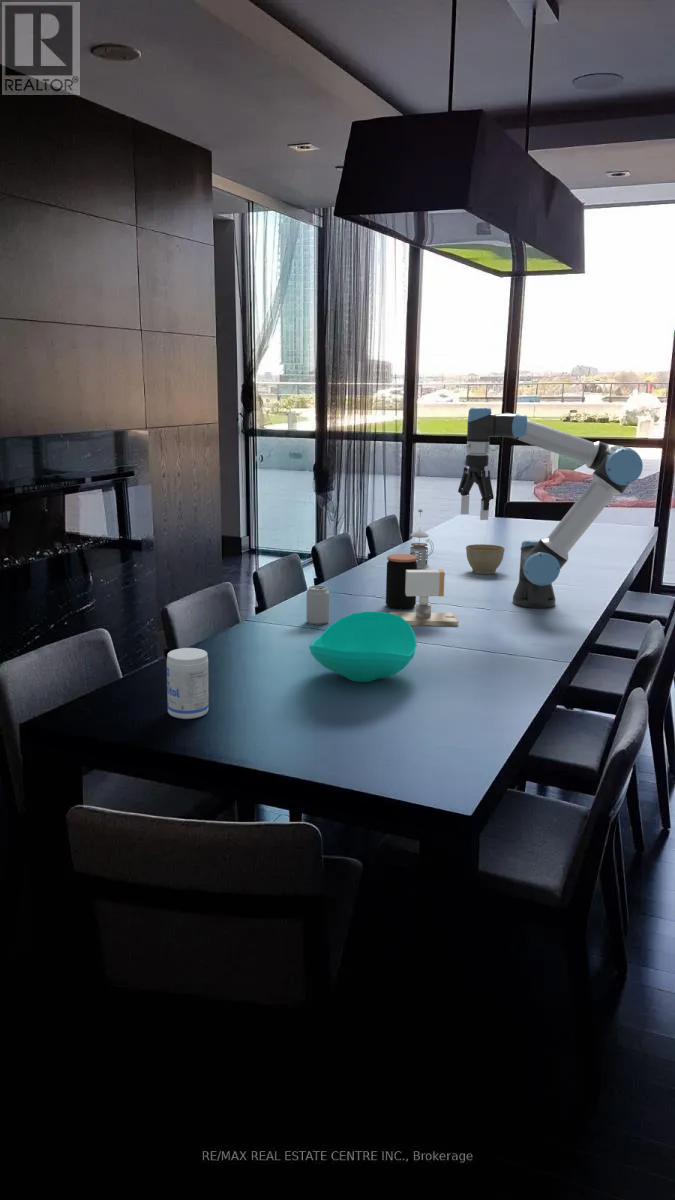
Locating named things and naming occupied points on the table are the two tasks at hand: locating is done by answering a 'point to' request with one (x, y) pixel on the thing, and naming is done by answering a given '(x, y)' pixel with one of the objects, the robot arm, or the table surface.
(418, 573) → the orange-capped white bar
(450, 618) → the lock board
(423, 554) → the french press
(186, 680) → the supplement tub
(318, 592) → the can
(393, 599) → the coffee jar
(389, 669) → the table top decor
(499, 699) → the table surface
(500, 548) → the planter bowl
